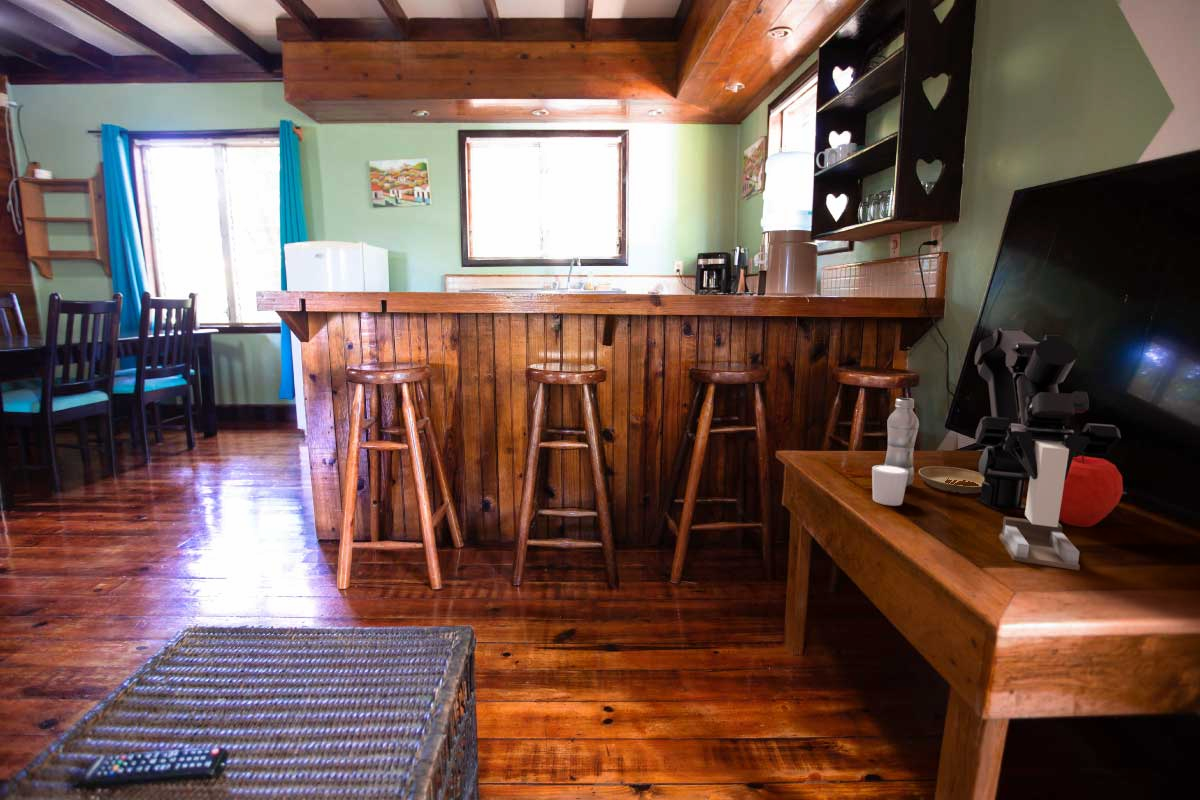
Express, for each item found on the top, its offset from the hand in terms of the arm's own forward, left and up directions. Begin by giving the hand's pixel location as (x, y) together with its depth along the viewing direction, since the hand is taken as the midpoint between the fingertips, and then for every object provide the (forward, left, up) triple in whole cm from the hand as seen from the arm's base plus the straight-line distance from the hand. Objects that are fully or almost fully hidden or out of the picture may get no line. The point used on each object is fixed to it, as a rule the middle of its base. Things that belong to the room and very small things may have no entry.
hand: (1049, 479), depth 93 cm
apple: (-19, -13, -13) cm, 27 cm away
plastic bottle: (+2, -37, -13) cm, 40 cm away
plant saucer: (-11, -36, -14) cm, 40 cm away
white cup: (+10, -27, -13) cm, 32 cm away
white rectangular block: (-1, -1, -8) cm, 8 cm away
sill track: (-1, -1, -13) cm, 13 cm away
